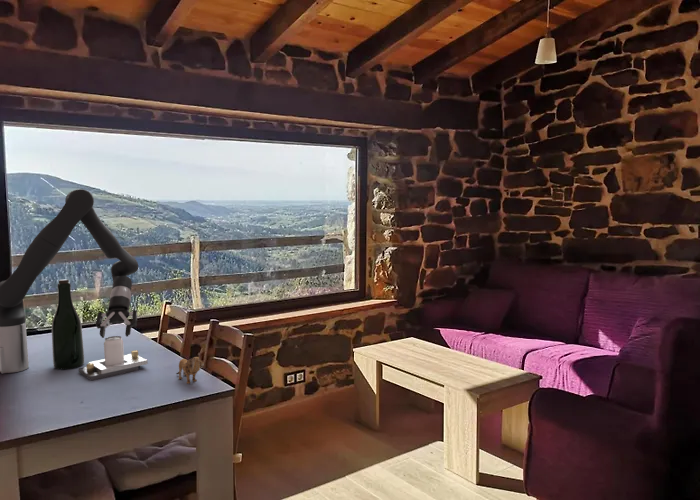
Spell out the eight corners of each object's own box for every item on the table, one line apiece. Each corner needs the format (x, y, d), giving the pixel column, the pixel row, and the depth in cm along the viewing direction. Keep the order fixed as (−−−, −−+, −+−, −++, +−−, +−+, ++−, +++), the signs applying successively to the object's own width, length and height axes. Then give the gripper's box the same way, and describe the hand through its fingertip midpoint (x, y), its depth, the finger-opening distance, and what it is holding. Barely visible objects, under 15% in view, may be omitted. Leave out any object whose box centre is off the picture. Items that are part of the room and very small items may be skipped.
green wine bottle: (71, 370, 200) (66, 281, 197) (46, 369, 202) (41, 281, 200) (90, 362, 211) (85, 277, 208) (66, 361, 213) (61, 277, 210)
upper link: (101, 374, 191) (100, 362, 191) (88, 366, 200) (88, 355, 200) (147, 363, 202) (147, 353, 202) (133, 357, 212) (133, 346, 211)
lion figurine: (206, 382, 185) (205, 356, 185) (193, 386, 181) (192, 359, 181) (182, 373, 195) (181, 349, 194) (169, 377, 191) (168, 352, 190)
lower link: (91, 380, 189) (90, 369, 188) (79, 372, 198) (78, 361, 198) (138, 370, 200) (137, 359, 200) (124, 362, 209) (124, 352, 209)
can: (127, 367, 203) (126, 335, 202) (118, 372, 197) (116, 340, 196) (111, 367, 204) (109, 335, 203) (101, 372, 198) (99, 340, 197)
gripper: (98, 295, 210) (91, 331, 199) (137, 294, 212) (133, 329, 202) (102, 306, 215) (96, 342, 205) (140, 305, 218) (136, 340, 208)
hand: (114, 336), depth 204 cm, fingers open, 8 cm apart
